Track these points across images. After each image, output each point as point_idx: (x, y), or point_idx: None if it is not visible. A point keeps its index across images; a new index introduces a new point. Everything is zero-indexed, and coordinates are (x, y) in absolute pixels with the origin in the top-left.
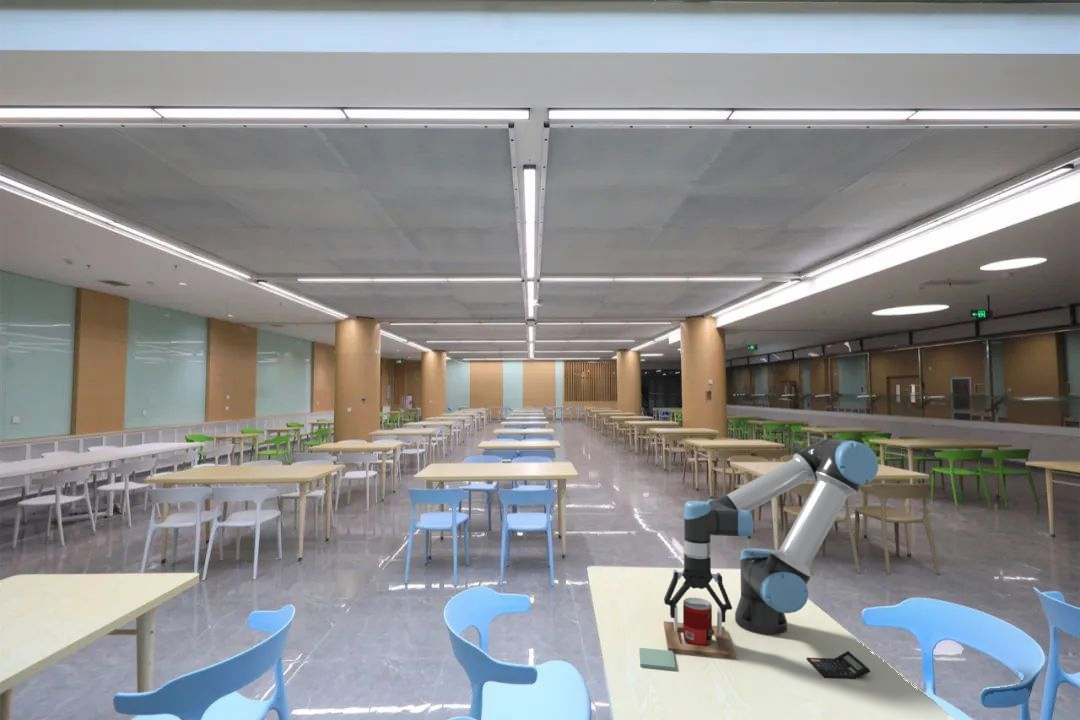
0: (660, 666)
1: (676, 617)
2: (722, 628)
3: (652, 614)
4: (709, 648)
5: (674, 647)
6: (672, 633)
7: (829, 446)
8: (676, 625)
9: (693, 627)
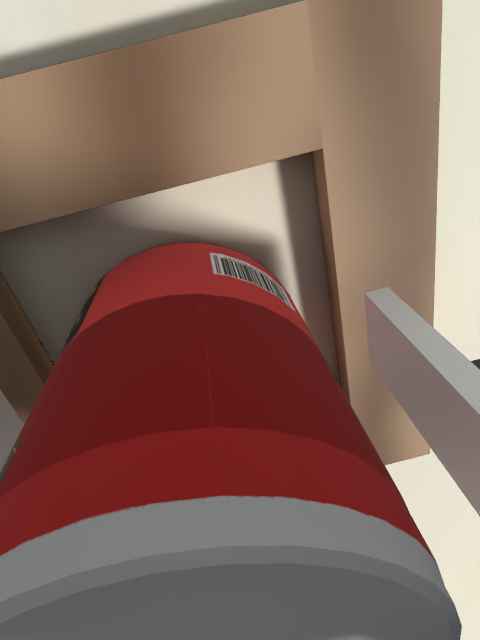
0: None
1: (445, 362)
2: None
3: (464, 512)
4: (43, 168)
5: (379, 20)
6: None
7: None
8: (397, 315)
9: (221, 302)
